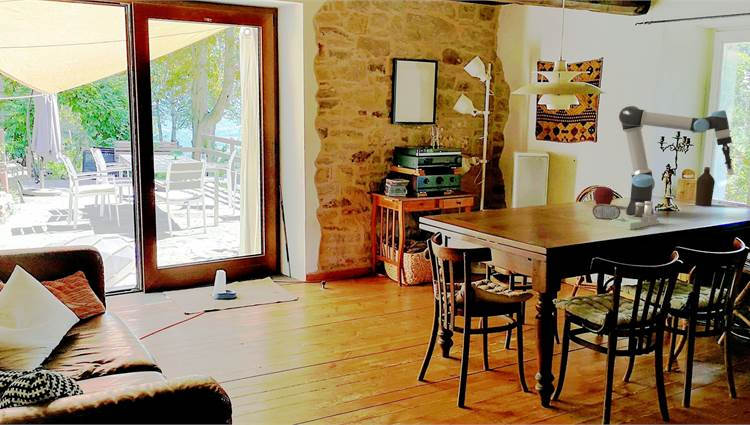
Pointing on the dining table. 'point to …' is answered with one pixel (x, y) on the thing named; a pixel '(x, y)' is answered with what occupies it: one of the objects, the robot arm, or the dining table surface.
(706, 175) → the olive oil
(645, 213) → the fuse
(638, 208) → the fuse
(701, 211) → the dining table surface
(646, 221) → the fuse holder
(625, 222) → the parts tray
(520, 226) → the dining table surface
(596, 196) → the apple
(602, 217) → the tin
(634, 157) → the robot arm
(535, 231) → the dining table surface
